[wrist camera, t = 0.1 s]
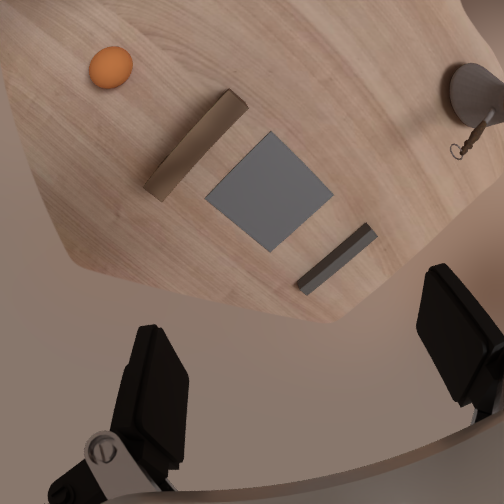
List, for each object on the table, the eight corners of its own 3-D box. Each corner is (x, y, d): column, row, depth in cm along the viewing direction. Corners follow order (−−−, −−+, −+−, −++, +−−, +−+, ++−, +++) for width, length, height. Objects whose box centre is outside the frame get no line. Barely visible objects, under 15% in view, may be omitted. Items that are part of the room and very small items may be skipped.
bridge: (159, 165, 44) (142, 187, 35) (229, 88, 39) (228, 90, 30) (174, 177, 45) (161, 202, 37) (245, 102, 40) (248, 108, 32)
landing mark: (205, 198, 47) (204, 198, 47) (271, 131, 42) (271, 131, 42) (270, 251, 52) (270, 252, 52) (333, 194, 48) (333, 195, 48)
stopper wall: (297, 281, 56) (299, 289, 54) (366, 222, 51) (371, 229, 48) (304, 287, 57) (306, 295, 55) (372, 229, 51) (377, 236, 49)
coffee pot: (474, 54, 35) (536, 61, 22) (493, 111, 40) (551, 132, 27) (386, 98, 40) (444, 112, 27) (414, 160, 45) (469, 194, 32)
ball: (91, 73, 35) (73, 74, 30) (117, 40, 33) (101, 36, 28) (120, 95, 38) (104, 98, 32) (146, 62, 36) (133, 60, 30)
